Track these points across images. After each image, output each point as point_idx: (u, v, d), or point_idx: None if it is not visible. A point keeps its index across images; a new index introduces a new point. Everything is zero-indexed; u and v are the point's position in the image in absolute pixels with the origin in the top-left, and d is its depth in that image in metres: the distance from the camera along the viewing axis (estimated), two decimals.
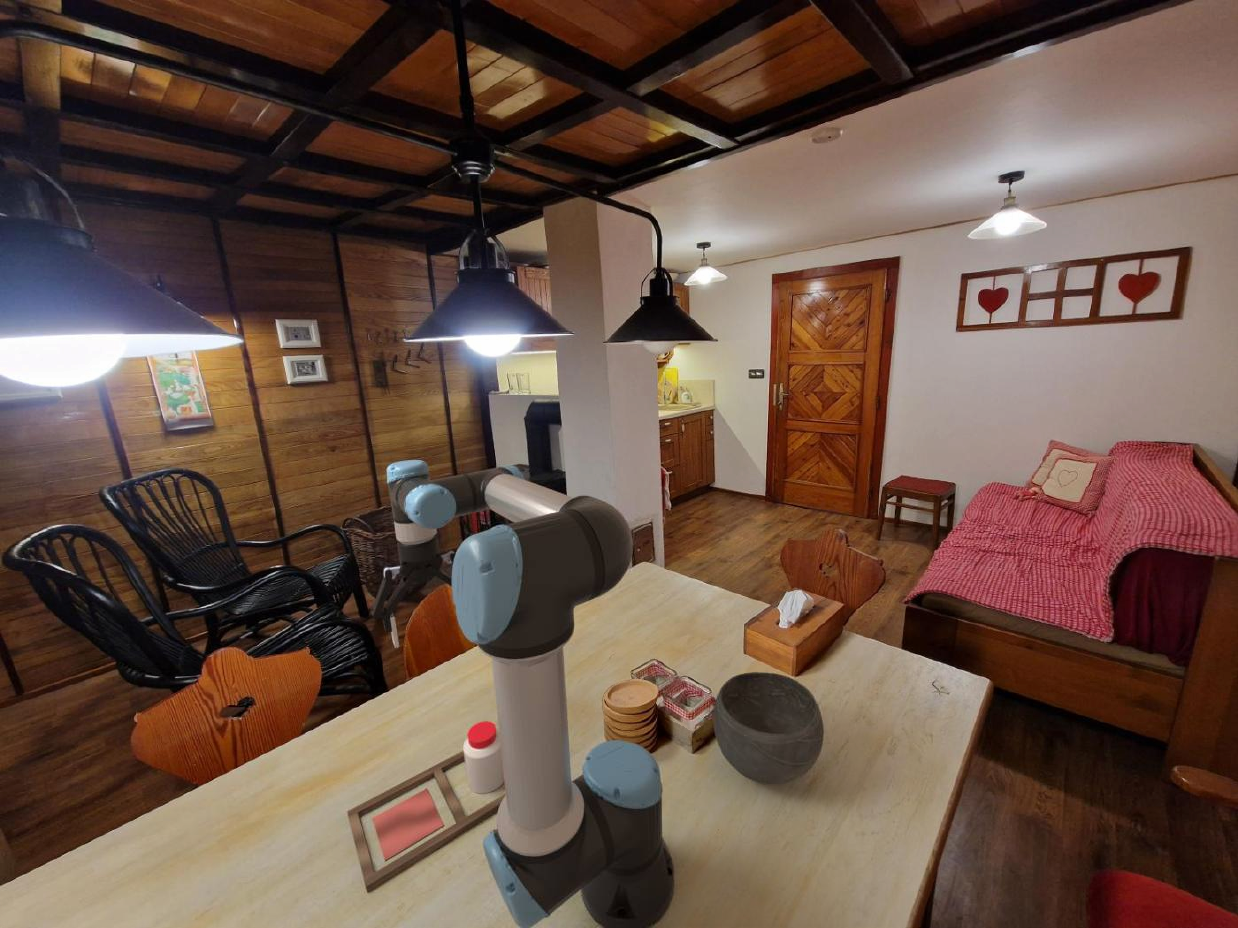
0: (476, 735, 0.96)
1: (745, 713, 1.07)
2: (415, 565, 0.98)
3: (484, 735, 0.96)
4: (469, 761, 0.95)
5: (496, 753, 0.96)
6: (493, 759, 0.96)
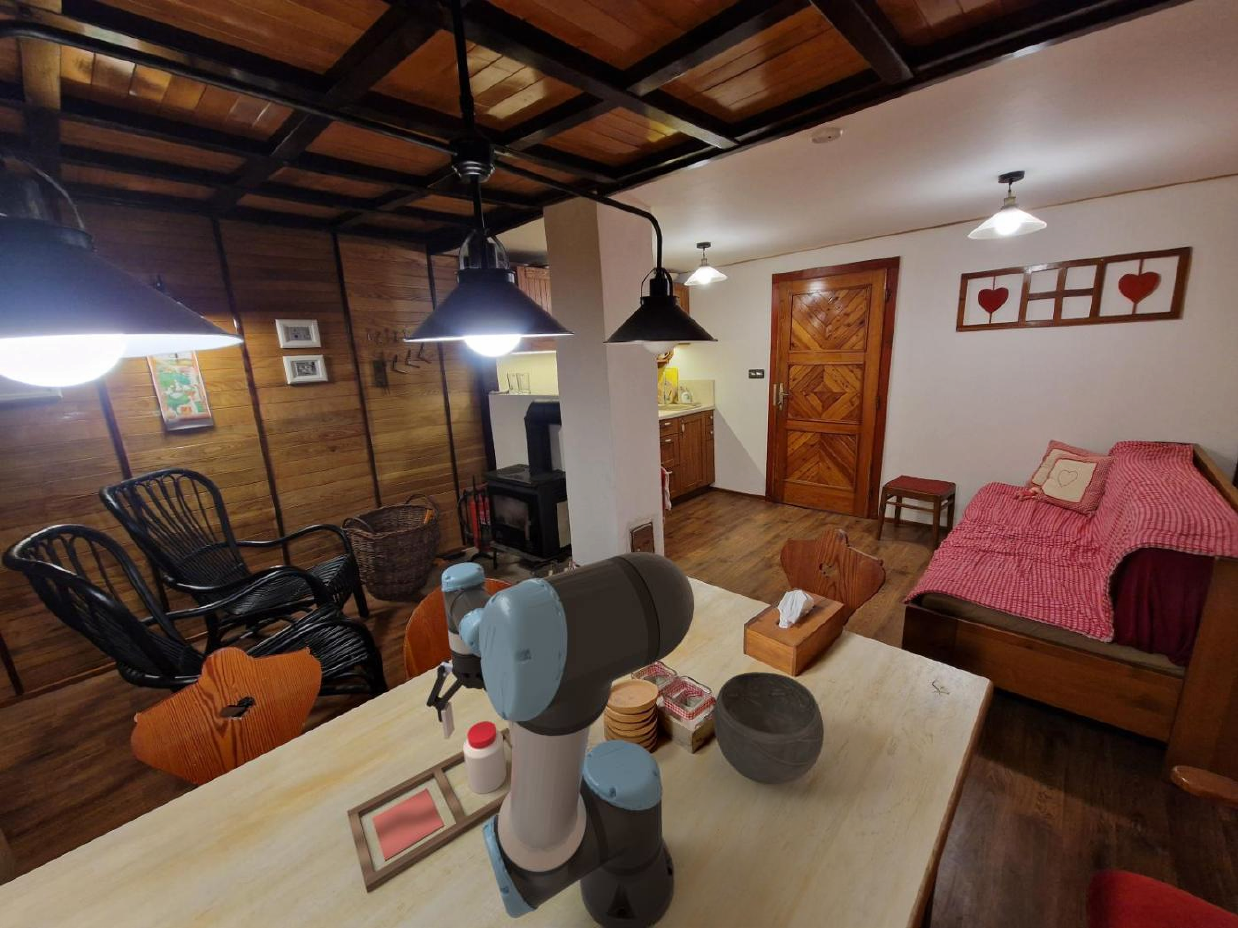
0: (476, 735, 0.96)
1: (745, 713, 1.07)
2: None
3: (484, 735, 0.96)
4: (469, 761, 0.95)
5: (496, 753, 0.96)
6: (492, 759, 0.96)
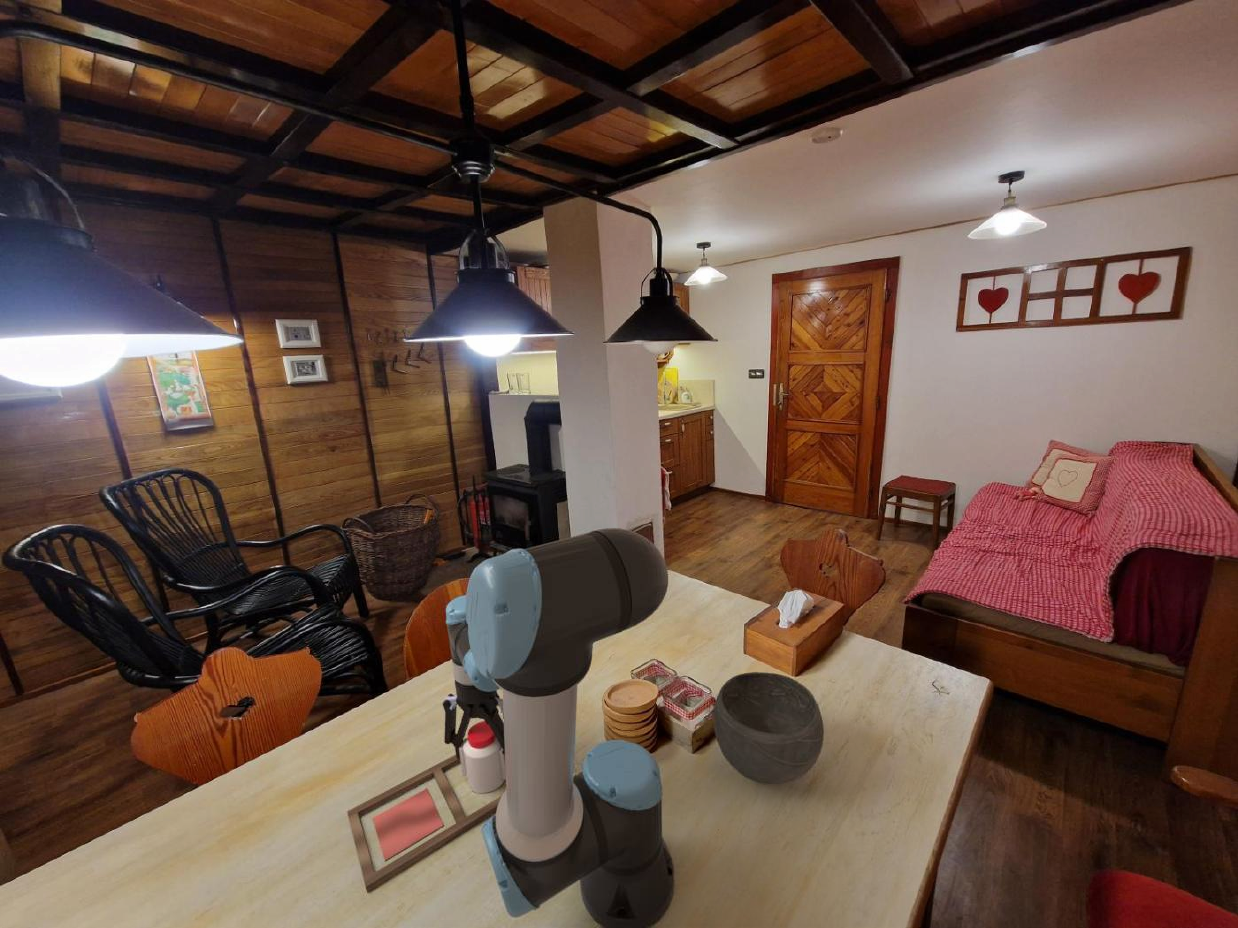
0: (476, 735, 0.96)
1: (745, 713, 1.07)
2: None
3: (484, 735, 0.96)
4: (469, 761, 0.95)
5: (496, 753, 0.96)
6: (493, 759, 0.96)
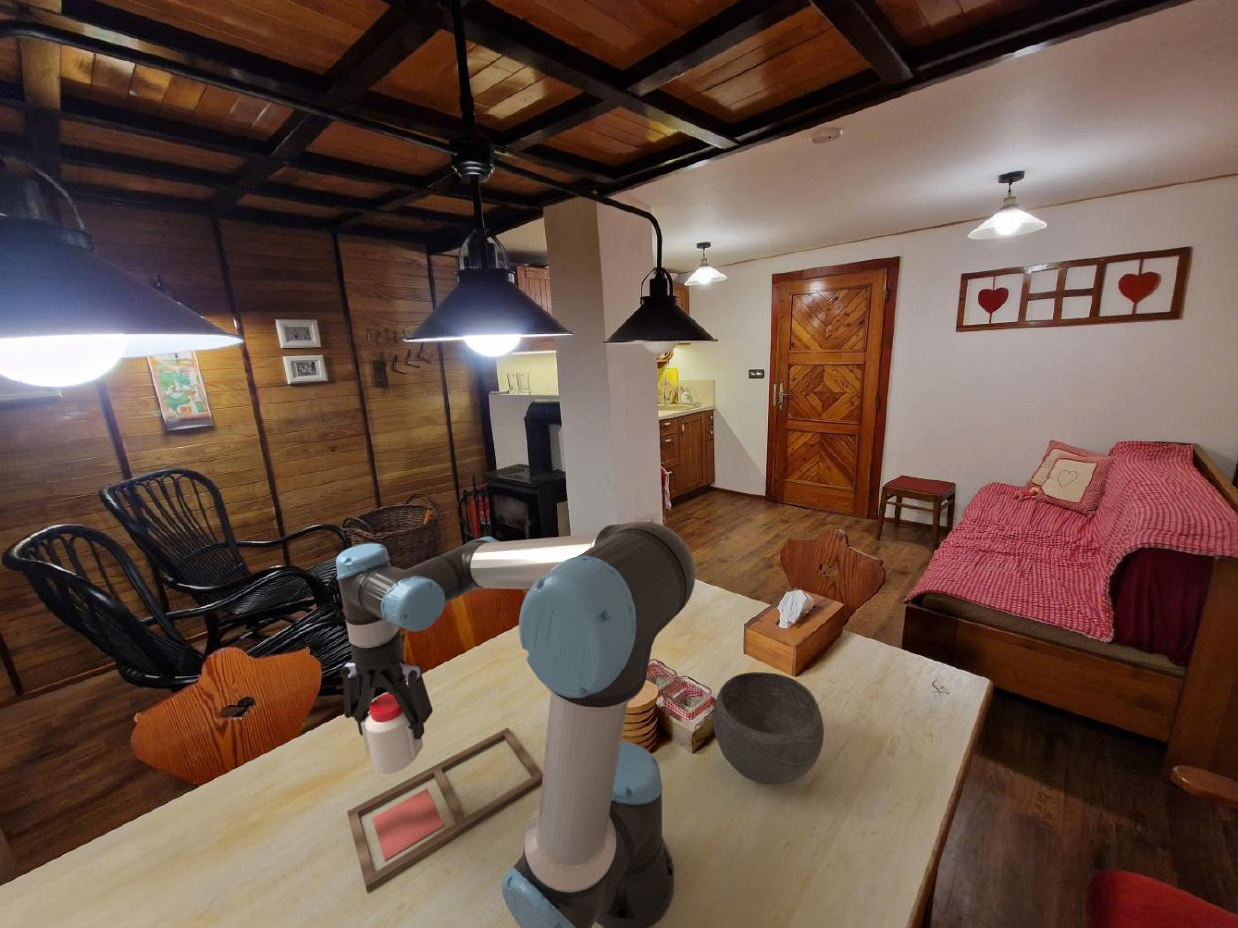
0: (380, 707, 0.84)
1: (745, 713, 1.07)
2: None
3: (388, 707, 0.84)
4: (370, 736, 0.83)
5: (402, 727, 0.84)
6: (397, 734, 0.83)
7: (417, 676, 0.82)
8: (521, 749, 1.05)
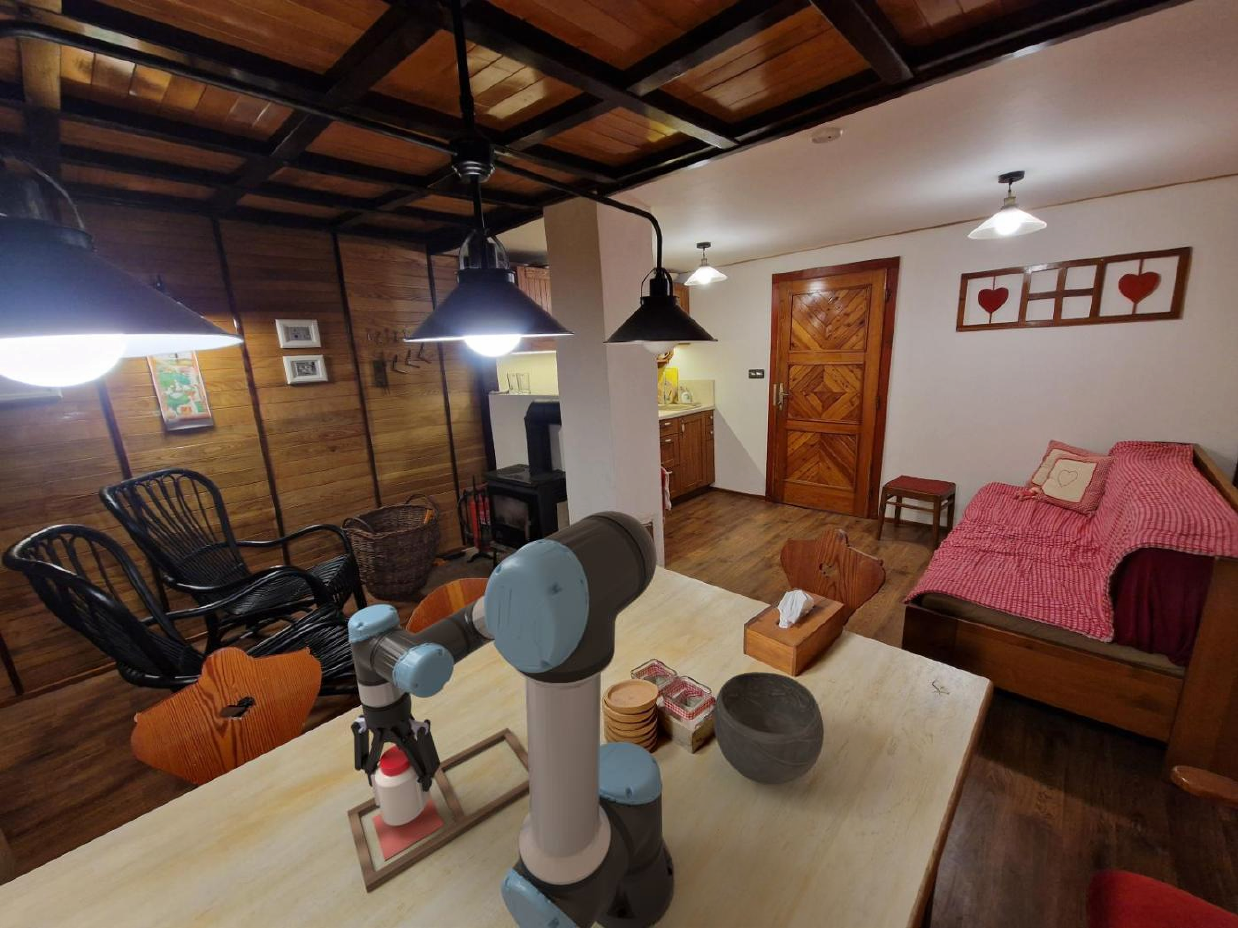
0: (389, 760, 0.87)
1: (745, 713, 1.07)
2: None
3: (397, 761, 0.86)
4: (379, 790, 0.85)
5: (411, 781, 0.86)
6: (406, 788, 0.86)
7: (426, 732, 0.85)
8: (521, 749, 1.05)
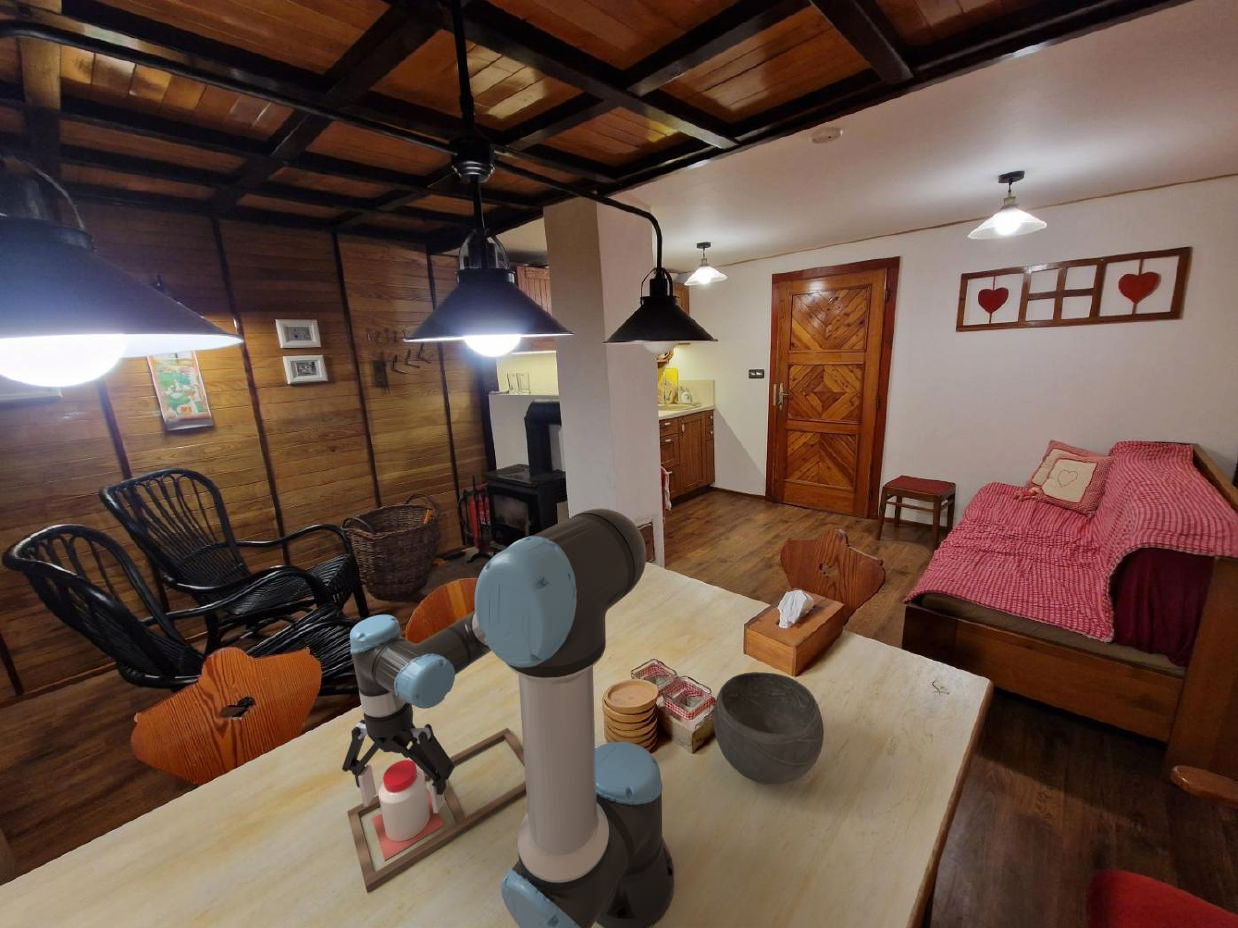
0: (393, 777, 0.87)
1: (745, 713, 1.07)
2: None
3: (401, 777, 0.87)
4: (383, 806, 0.86)
5: (414, 797, 0.87)
6: (410, 804, 0.86)
7: (428, 736, 0.85)
8: (521, 749, 1.05)
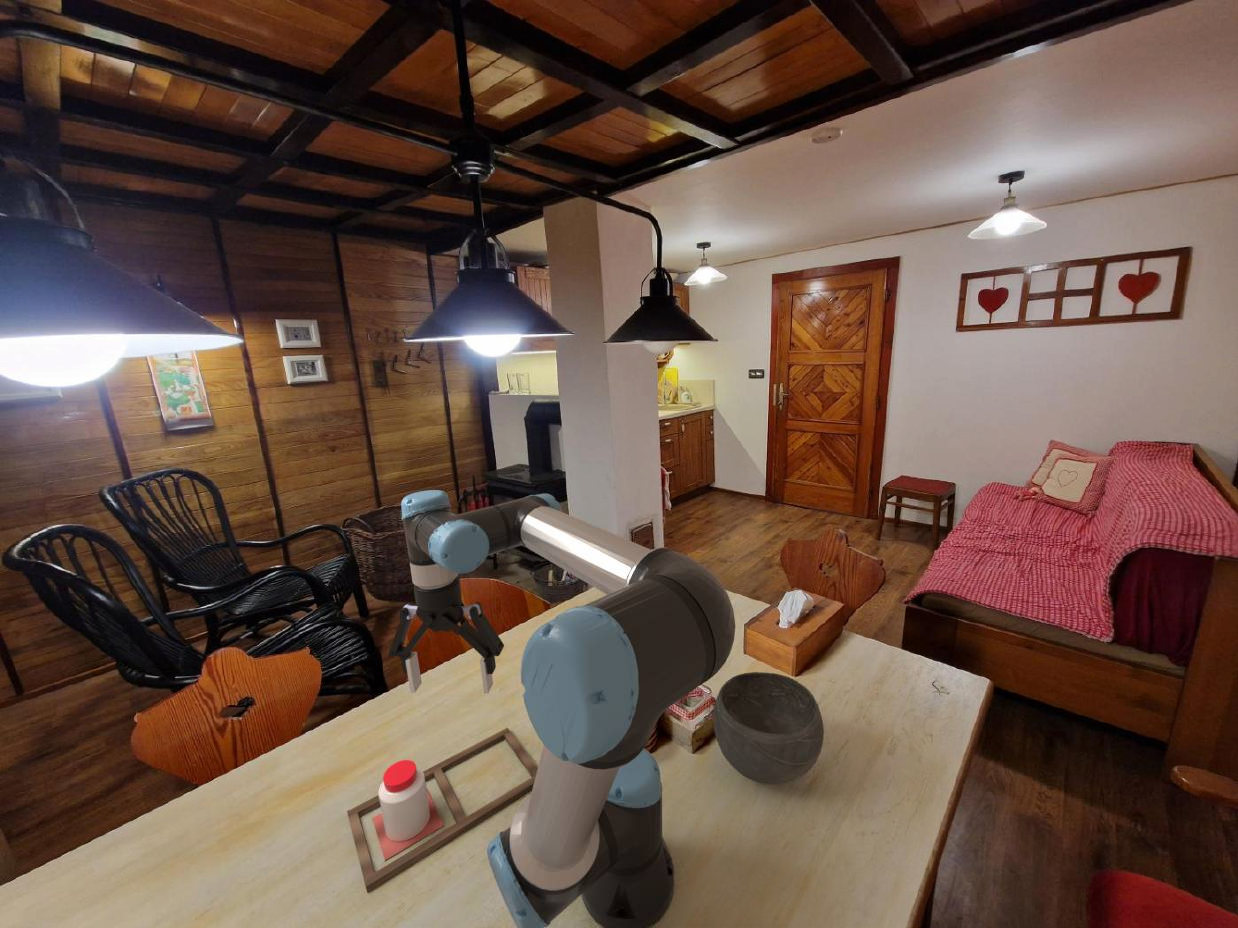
0: (393, 777, 0.87)
1: (745, 713, 1.07)
2: (430, 611, 0.85)
3: (401, 777, 0.87)
4: (383, 806, 0.86)
5: (414, 797, 0.87)
6: (410, 804, 0.86)
7: (478, 612, 0.85)
8: (521, 749, 1.05)
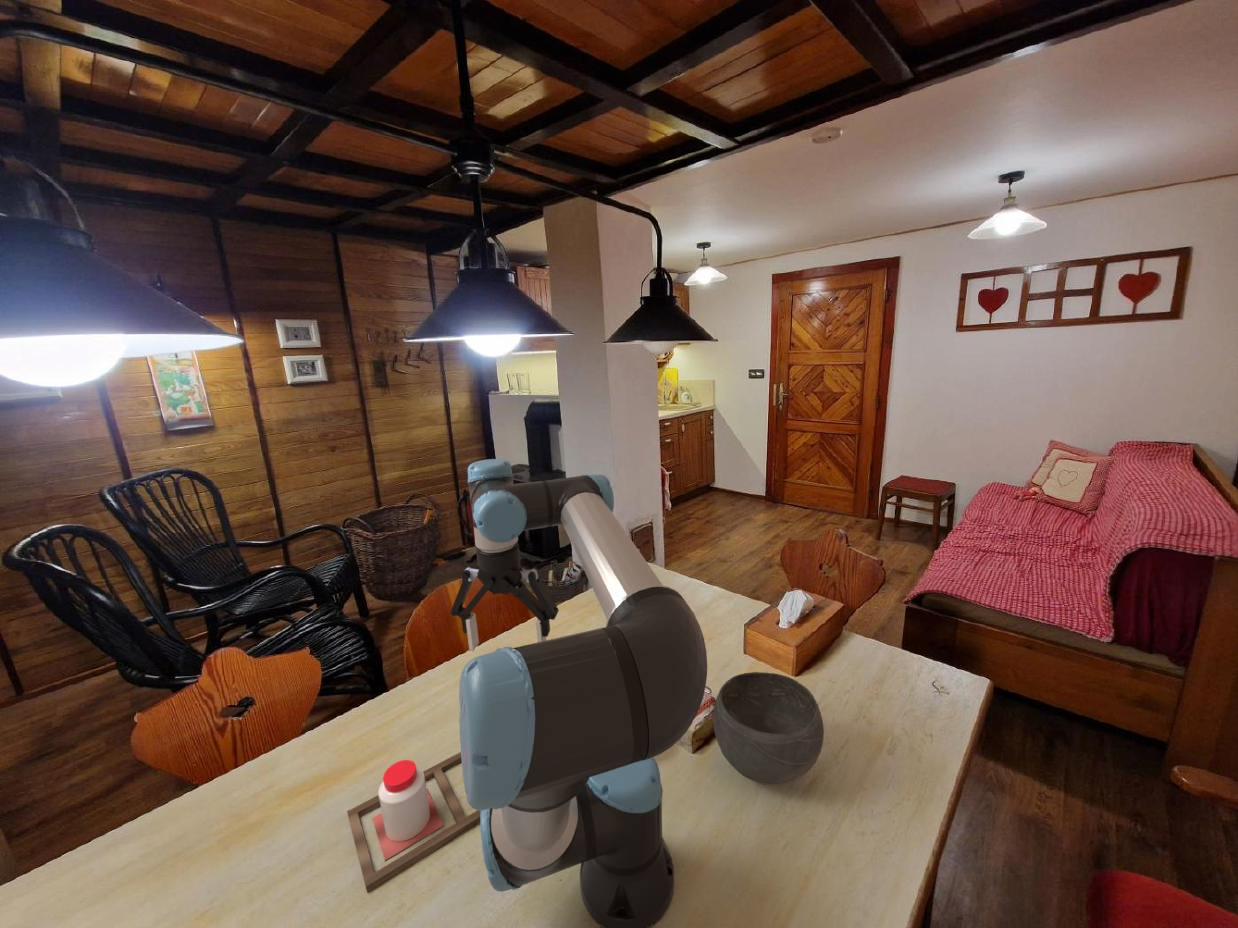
0: (393, 777, 0.87)
1: (745, 713, 1.07)
2: (491, 574, 0.89)
3: (401, 777, 0.87)
4: (383, 806, 0.86)
5: (414, 797, 0.87)
6: (409, 804, 0.86)
7: (536, 576, 0.89)
8: None
